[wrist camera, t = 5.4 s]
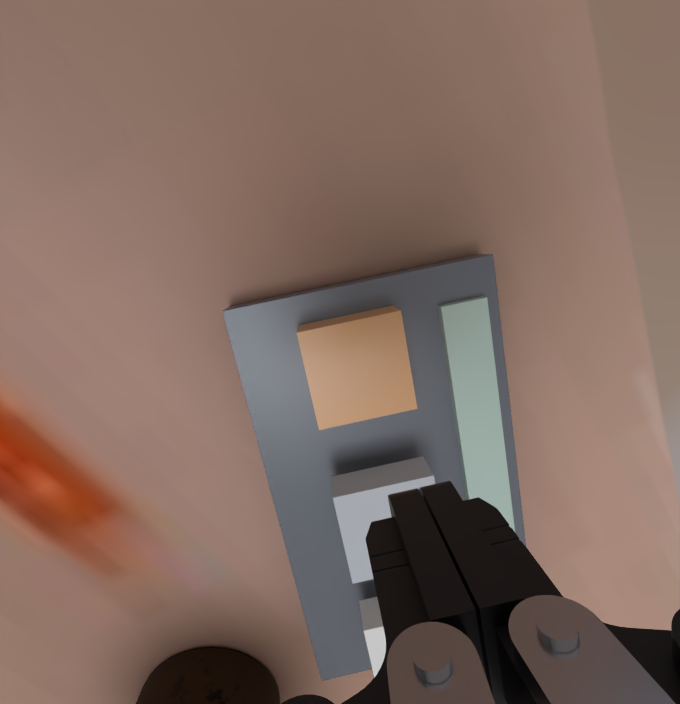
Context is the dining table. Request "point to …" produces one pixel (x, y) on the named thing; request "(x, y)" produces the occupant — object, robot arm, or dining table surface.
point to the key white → (373, 632)
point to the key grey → (371, 504)
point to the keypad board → (377, 423)
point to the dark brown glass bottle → (210, 680)
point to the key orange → (357, 366)
